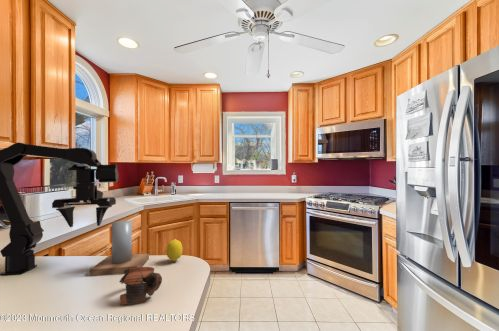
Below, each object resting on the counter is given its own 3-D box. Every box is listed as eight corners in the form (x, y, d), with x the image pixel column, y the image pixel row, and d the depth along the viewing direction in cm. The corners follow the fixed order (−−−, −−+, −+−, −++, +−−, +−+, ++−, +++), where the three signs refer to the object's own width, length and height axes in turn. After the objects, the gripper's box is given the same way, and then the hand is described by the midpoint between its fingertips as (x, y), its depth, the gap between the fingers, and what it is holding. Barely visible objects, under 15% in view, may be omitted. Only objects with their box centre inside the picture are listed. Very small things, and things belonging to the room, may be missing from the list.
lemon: (177, 264, 80) (177, 241, 80) (163, 263, 81) (163, 240, 82) (185, 259, 86) (185, 237, 86) (171, 258, 87) (171, 236, 87)
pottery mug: (106, 308, 56) (112, 270, 60) (135, 306, 63) (138, 273, 68) (150, 299, 53) (152, 261, 58) (173, 299, 61) (174, 265, 65)
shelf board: (90, 275, 73) (90, 269, 73) (108, 261, 85) (108, 255, 85) (137, 272, 74) (137, 266, 74) (148, 259, 86) (148, 253, 86)
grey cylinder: (112, 265, 75) (112, 224, 76) (111, 259, 80) (111, 221, 81) (132, 261, 79) (132, 222, 79) (130, 256, 84) (130, 219, 84)
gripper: (122, 181, 94) (121, 220, 93) (71, 182, 92) (71, 223, 91) (108, 182, 83) (108, 227, 82) (51, 184, 80) (50, 229, 80)
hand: (85, 226), depth 84 cm, fingers open, 9 cm apart
